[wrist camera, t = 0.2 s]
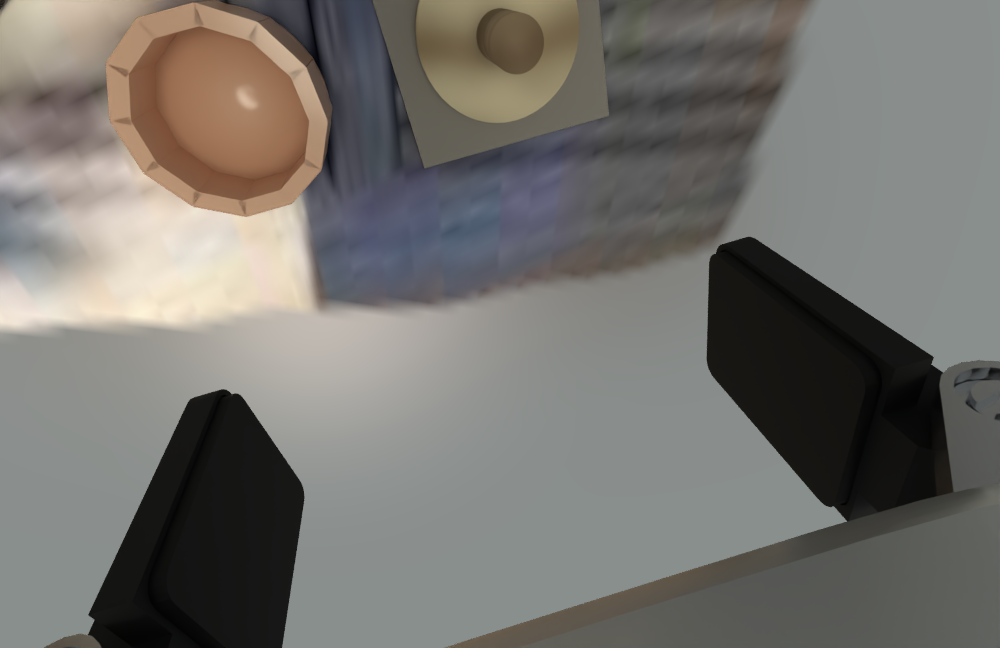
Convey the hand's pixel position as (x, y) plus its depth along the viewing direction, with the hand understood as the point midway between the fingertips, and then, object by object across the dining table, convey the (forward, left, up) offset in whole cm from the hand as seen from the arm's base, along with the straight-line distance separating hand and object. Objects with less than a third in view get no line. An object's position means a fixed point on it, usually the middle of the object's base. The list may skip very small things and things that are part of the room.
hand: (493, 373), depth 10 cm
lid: (-2, +6, -30) cm, 30 cm away
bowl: (-2, -11, -30) cm, 32 cm away
